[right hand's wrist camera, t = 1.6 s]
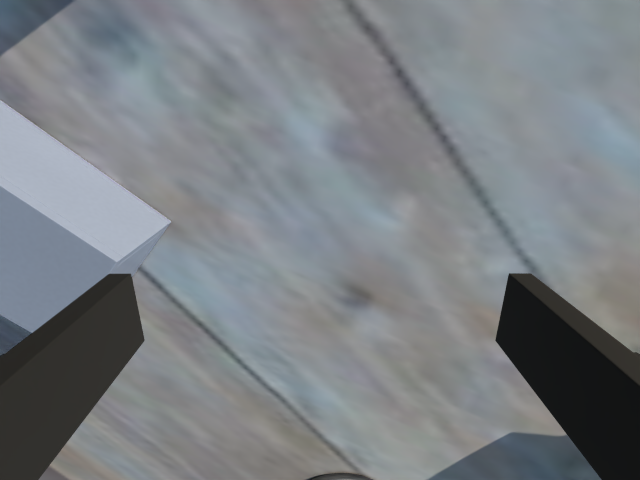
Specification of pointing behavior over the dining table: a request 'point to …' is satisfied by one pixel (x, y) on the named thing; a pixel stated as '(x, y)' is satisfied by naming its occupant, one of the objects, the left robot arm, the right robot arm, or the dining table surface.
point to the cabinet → (61, 224)
